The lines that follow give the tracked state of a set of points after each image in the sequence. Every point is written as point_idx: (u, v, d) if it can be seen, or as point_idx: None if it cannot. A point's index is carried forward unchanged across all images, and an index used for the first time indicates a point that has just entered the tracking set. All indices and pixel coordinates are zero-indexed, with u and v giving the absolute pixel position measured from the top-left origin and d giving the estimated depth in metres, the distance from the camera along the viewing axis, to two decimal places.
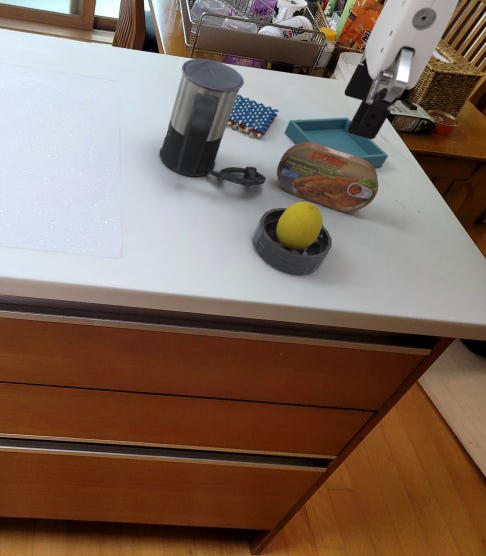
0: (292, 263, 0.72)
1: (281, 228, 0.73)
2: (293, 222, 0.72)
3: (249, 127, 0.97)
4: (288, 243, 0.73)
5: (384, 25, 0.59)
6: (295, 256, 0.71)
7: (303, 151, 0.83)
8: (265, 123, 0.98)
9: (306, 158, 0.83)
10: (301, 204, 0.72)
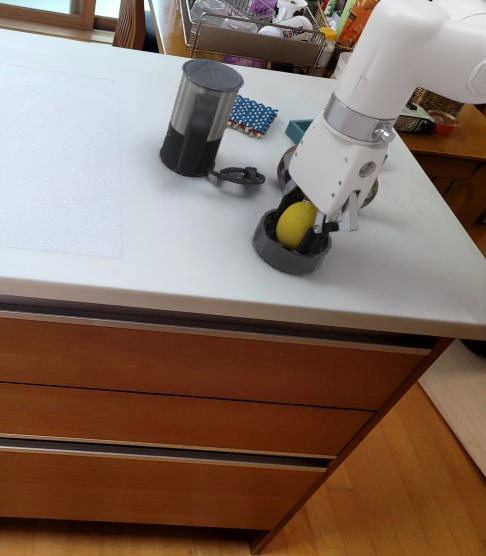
0: (292, 263, 0.72)
1: (281, 228, 0.73)
2: (293, 222, 0.72)
3: (249, 127, 0.97)
4: (288, 243, 0.73)
5: (323, 170, 0.65)
6: (295, 256, 0.71)
7: None
8: (265, 123, 0.98)
9: None
10: (301, 204, 0.72)
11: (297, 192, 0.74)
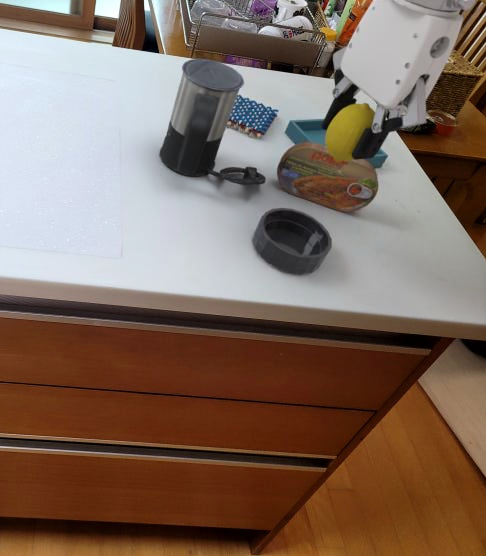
0: (292, 263, 0.72)
1: (331, 135, 0.66)
2: (347, 125, 0.64)
3: (249, 127, 0.97)
4: (340, 150, 0.66)
5: (386, 55, 0.57)
6: (295, 256, 0.71)
7: (303, 151, 0.83)
8: (265, 123, 0.98)
9: (306, 158, 0.83)
10: (354, 105, 0.64)
11: (349, 94, 0.66)
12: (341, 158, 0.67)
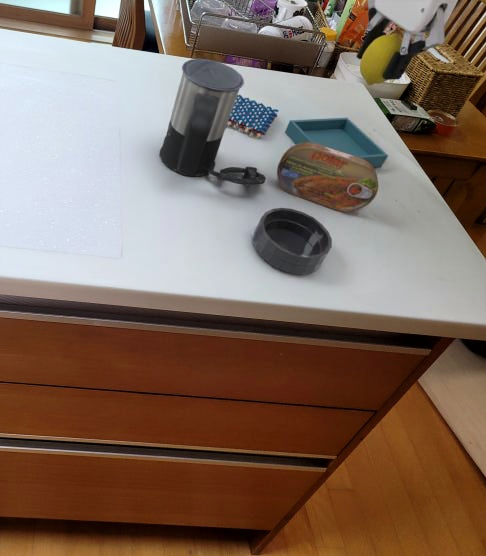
0: (292, 263, 0.72)
1: (366, 60, 0.82)
2: (379, 51, 0.80)
3: (249, 127, 0.97)
4: (373, 73, 0.82)
5: None
6: (295, 256, 0.71)
7: (303, 151, 0.83)
8: (265, 123, 0.98)
9: (306, 158, 0.83)
10: (385, 35, 0.80)
11: (380, 28, 0.82)
12: (373, 80, 0.83)
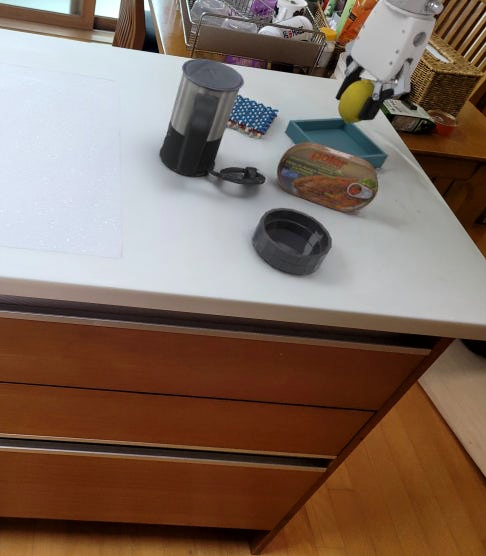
0: (292, 263, 0.72)
1: (343, 102, 0.91)
2: (354, 95, 0.89)
3: (249, 127, 0.97)
4: (349, 114, 0.91)
5: (383, 44, 0.83)
6: (295, 256, 0.71)
7: (303, 151, 0.83)
8: (265, 123, 0.98)
9: (306, 158, 0.83)
10: (360, 81, 0.90)
11: (356, 74, 0.92)
12: (350, 120, 0.92)
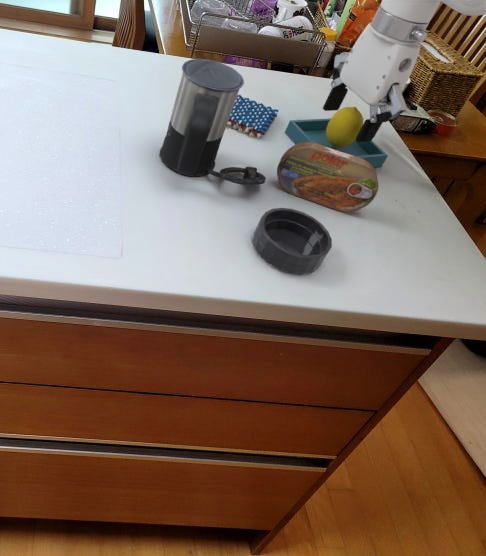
0: (292, 263, 0.72)
1: (330, 128, 0.95)
2: (341, 122, 0.93)
3: (249, 127, 0.97)
4: (336, 139, 0.95)
5: (370, 69, 0.86)
6: (295, 256, 0.71)
7: (303, 151, 0.83)
8: (265, 123, 0.98)
9: (306, 158, 0.83)
10: (346, 108, 0.93)
11: (342, 85, 0.95)
12: (337, 145, 0.96)
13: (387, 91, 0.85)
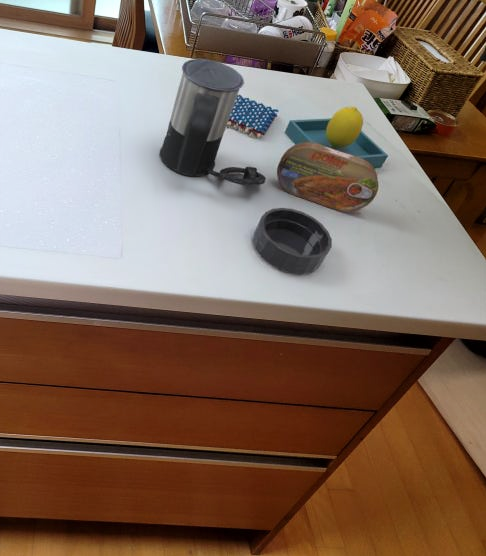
0: (292, 263, 0.72)
1: (330, 128, 0.95)
2: (341, 122, 0.93)
3: (249, 127, 0.97)
4: (336, 139, 0.95)
5: None
6: (295, 256, 0.71)
7: (303, 151, 0.83)
8: (265, 123, 0.98)
9: (306, 158, 0.83)
10: (346, 108, 0.93)
11: None
12: (337, 145, 0.96)
13: None
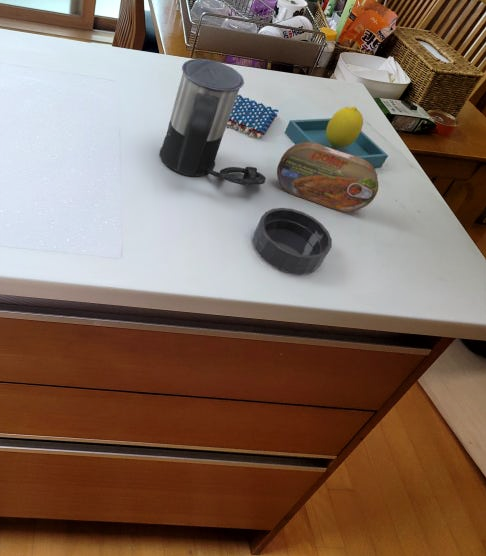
0: (292, 263, 0.72)
1: (330, 128, 0.95)
2: (341, 122, 0.93)
3: (249, 127, 0.97)
4: (336, 139, 0.95)
5: None
6: (295, 256, 0.71)
7: (303, 151, 0.83)
8: (265, 123, 0.98)
9: (306, 158, 0.83)
10: (346, 108, 0.93)
11: None
12: (337, 145, 0.96)
13: None
